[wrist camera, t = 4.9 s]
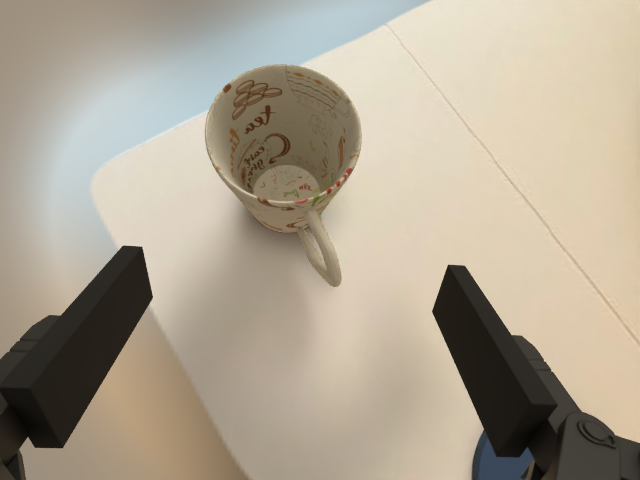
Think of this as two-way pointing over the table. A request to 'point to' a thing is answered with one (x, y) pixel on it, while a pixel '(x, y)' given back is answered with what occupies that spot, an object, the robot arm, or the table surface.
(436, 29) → the table surface
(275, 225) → the mug
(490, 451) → the coaster
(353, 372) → the table surface
